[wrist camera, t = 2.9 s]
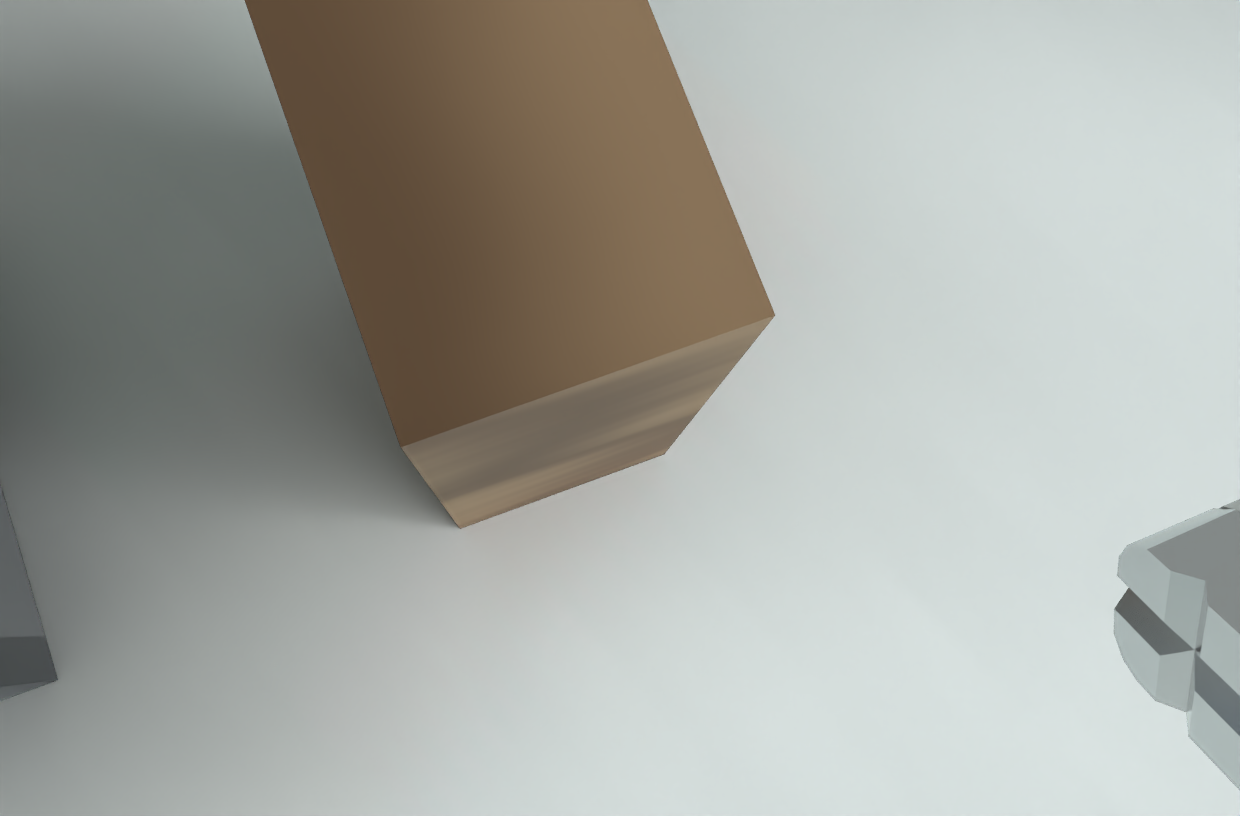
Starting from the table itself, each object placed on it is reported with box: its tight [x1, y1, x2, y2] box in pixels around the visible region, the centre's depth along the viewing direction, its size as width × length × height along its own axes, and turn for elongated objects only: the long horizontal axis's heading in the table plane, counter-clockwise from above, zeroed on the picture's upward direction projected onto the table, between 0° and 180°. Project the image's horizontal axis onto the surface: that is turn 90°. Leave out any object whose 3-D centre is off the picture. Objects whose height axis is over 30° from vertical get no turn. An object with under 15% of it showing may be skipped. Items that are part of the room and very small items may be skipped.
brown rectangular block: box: [245, 0, 775, 529], centre depth 17 cm, size 4×6×10 cm
